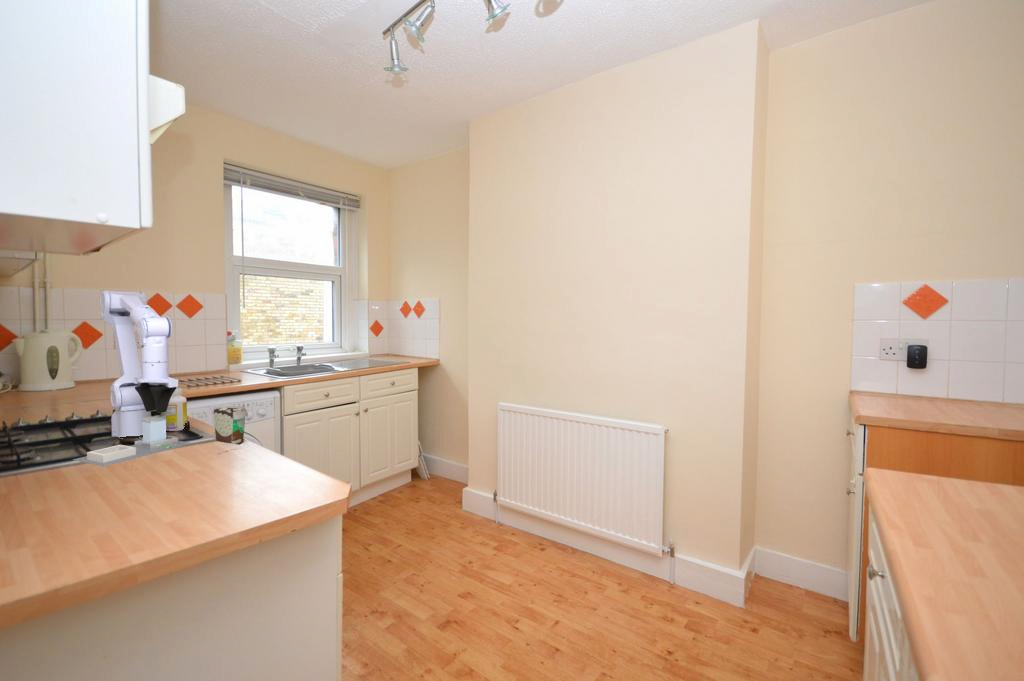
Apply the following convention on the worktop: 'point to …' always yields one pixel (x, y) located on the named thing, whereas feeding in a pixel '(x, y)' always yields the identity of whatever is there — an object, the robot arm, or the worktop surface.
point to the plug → (154, 428)
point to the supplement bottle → (176, 411)
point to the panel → (138, 454)
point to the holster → (111, 453)
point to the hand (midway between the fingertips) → (156, 411)
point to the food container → (229, 423)
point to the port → (157, 443)
